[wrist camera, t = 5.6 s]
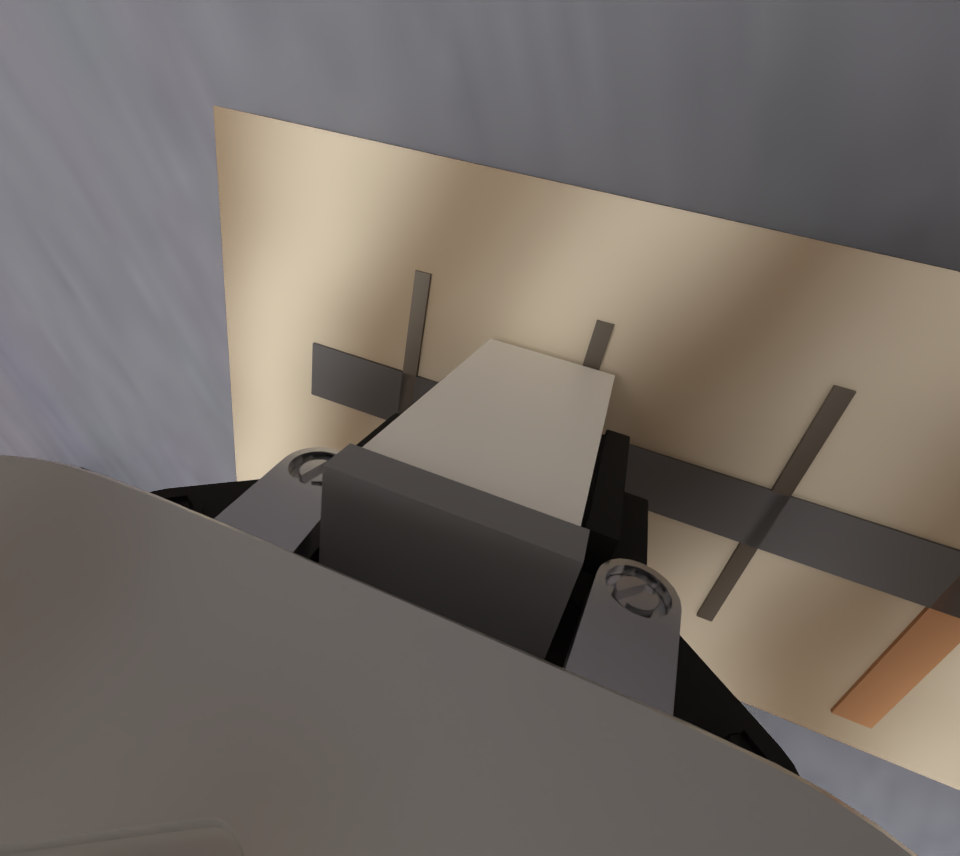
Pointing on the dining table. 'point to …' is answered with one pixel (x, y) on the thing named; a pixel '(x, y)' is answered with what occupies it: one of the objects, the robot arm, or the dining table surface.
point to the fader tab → (475, 494)
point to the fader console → (642, 396)
